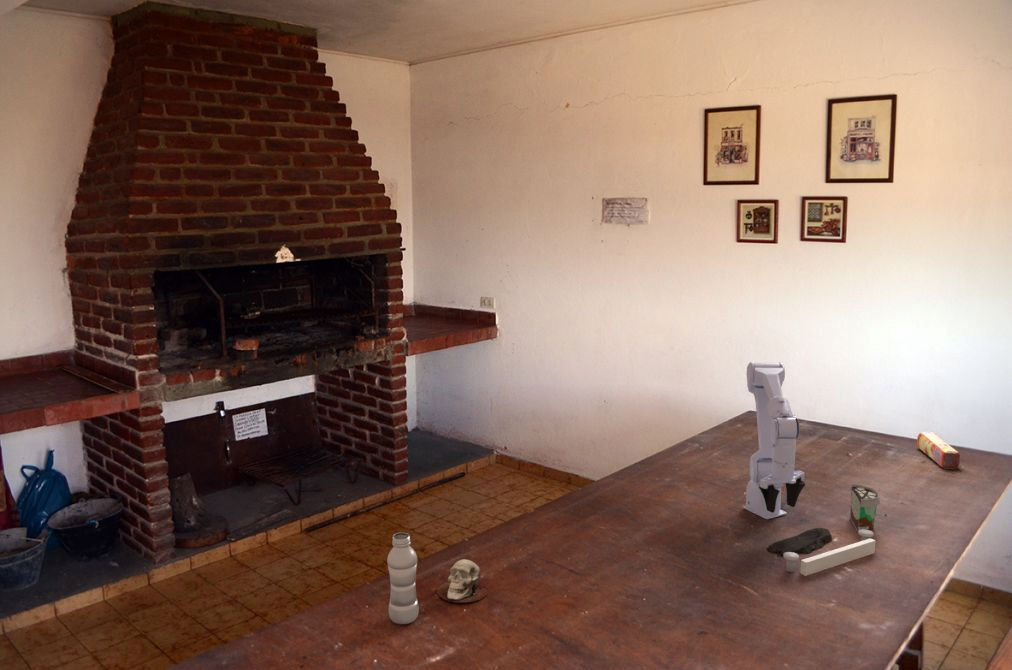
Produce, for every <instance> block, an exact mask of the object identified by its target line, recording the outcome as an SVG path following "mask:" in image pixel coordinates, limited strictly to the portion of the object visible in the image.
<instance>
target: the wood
mask: <svg viewBox="0 0 1012 670" xmlns="http://www.w3.org/2000/svg"><path fill="white" fill-rule="evenodd" d="M831 542H833V537H832V534H831V532H830V531H829V529H828V528H823V527H814V528H811V529H807V530H806V531H803V532H800V533H799V534H797V535H794V536H791V537H787V538H784V539H781V540H778V541H775V542H773V543H771V544H769V545H768V547H767V548H766V550H767V552H769V553H771V554H773V555H774V554H776V557H777V558H778V557H783V555H784V553H786V552H793V553H796V554H798V553H803V554H804V555H808V554H811V553H813V552H815V551H818V550H820V549H822V548H823V547H824V546H825V545H827V544H829V543H831Z"/></svg>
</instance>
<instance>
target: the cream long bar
mask: <svg viewBox="0 0 1012 670" xmlns="http://www.w3.org/2000/svg"><path fill="white" fill-rule="evenodd" d="M857 533H858V535H859V536H860V541H858V542H855V543H851V544H848V545H846V546H841V547H838V548H836V549H833V550H832V549H831V550H829V551H826V552H823V553H819V554H816V555H813V556H810V557H807V558H803V559H801V561H800V573H799V574H801V575H803V576H804V577H805V576H806V577H807V576H810V575H813V574H815V573H819V572H821V571H825V570H828V569H831V568H834V567H836V566H837V567H838V566H840V565H843V564H845V563H846V564H847V563H848V562H853V561H855V560H858V559H861V558H864V557H867V556H870V555H873V554H875V552H876V543H877V542H876V540H875V539H873V537H874V532H873V530H872V531H870V530H865V529H861V530H859V531H858V532H857ZM782 557H783V559H785V560H786V565H785V567H786V568H785V570H786V572H788V573H795V571H796V570H795V569H796V562H797V561H799V559H800V555H799V554H798V553H793V552H786V553H784V555H783V556H782Z"/></svg>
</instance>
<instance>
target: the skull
mask: <svg viewBox="0 0 1012 670" xmlns="http://www.w3.org/2000/svg"><path fill="white" fill-rule="evenodd" d="M449 570H450V571H449V573H450V575H449V576H448V577H447V578H448V579H447V582H450V583H446V582H443V584H442V583H441V585H439V586H438V588H437V590H436V593H437V595H438V596H439V598H441V599H443V600H445V601H448V602H451V603H460V604H461V603H472V602H473V603H474V602H477V601H480V600H482V599H484V598H485V597H486V596H487V595H488V593H487V594H486V593H485V594H484V593H483V595H484V596H483V595H481V596H478V595H479V594H475V595H473V593H475V590H476V589H477V586H478V585H480V581H481V569H480V567H479V565H477V564H476V563H475V562H474V561H472V560H471V559H470V560H469V559H463V558H462V559H460V560H457V561H456V562H455V563H454V564H453V566H451V568H450V569H449ZM483 597H484V598H483Z"/></svg>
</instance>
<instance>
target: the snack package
mask: <svg viewBox="0 0 1012 670" xmlns="http://www.w3.org/2000/svg"><path fill="white" fill-rule="evenodd" d="M916 447H917V449H919V450H920V451H922V453H924V454H925V455H927V456H928V457H929V458H930V459H932V460H933V461H934V462H935V463H936V464H938V466H939V467H941V468H942V469H946V470H948V469H950V470H953V469H954V470H956V469H958V468H959V466H960V463H961V454H960V451H957V450H956V449H955V448H954V447H953V446H951V445H950V444H949V443H948V442H946V441H945V440H944V439H942V438H941V437H939V436H938V435H937V434H936V433H934V432H931V431H921V432H920V433H918V435H917V440H916Z"/></svg>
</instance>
